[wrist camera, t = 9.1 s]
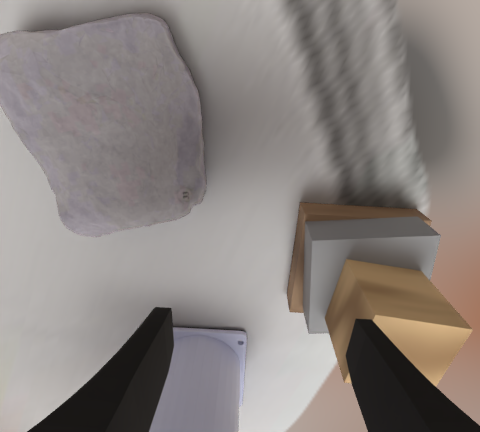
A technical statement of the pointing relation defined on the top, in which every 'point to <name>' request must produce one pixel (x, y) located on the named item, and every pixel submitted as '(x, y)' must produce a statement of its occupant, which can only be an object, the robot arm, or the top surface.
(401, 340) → the oak cube
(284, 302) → the top surface
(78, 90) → the stone block
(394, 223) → the top slab
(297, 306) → the bottom slab
